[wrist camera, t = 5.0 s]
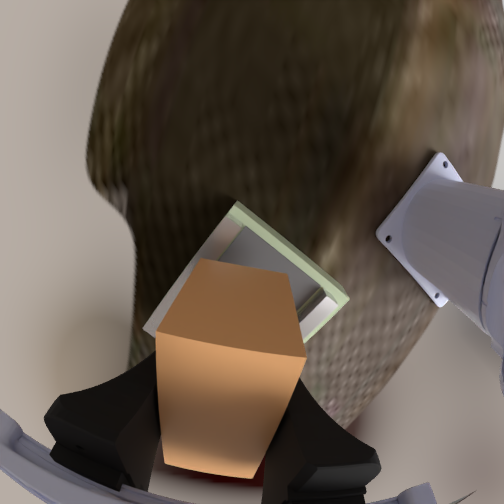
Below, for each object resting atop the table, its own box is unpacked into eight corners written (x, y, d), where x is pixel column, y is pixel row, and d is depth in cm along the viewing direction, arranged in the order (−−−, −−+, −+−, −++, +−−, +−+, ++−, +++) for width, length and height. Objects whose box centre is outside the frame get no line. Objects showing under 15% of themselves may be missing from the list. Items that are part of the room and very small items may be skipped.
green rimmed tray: (341, 285, 18) (355, 308, 15) (250, 372, 21) (248, 400, 18) (237, 200, 16) (231, 208, 13) (155, 309, 19) (139, 333, 16)
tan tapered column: (287, 273, 12) (306, 357, 7) (253, 399, 15) (249, 482, 9) (200, 257, 12) (155, 331, 7) (188, 388, 15) (165, 468, 9)
